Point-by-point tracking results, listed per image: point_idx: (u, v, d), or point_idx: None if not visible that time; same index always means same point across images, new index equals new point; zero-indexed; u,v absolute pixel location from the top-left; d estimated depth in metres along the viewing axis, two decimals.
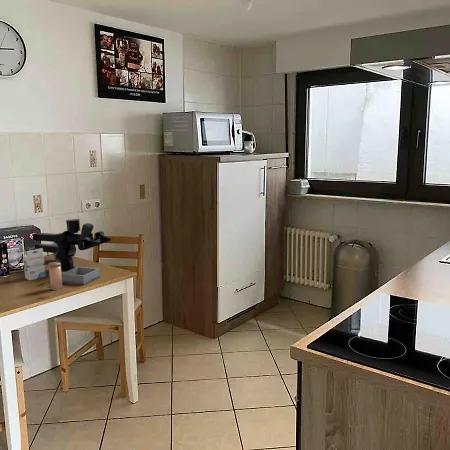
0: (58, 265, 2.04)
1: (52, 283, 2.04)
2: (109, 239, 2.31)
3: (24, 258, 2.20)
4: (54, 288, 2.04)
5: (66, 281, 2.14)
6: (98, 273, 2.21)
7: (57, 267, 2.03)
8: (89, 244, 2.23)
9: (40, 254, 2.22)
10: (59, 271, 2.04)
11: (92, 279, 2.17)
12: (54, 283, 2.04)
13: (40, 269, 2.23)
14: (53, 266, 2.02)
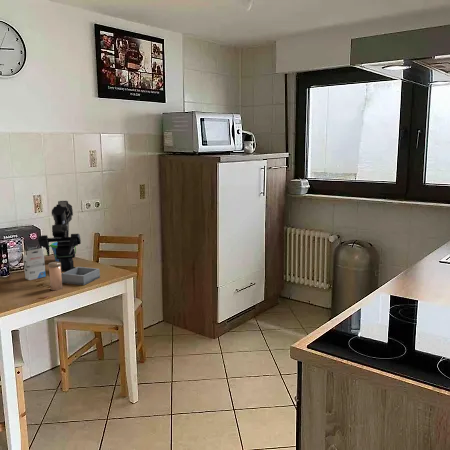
0: (58, 265, 2.04)
1: (52, 283, 2.04)
2: (68, 252, 2.14)
3: (24, 258, 2.20)
4: (54, 288, 2.04)
5: (66, 281, 2.14)
6: (98, 273, 2.21)
7: (57, 267, 2.03)
8: None
9: (40, 254, 2.22)
10: (59, 271, 2.04)
11: (92, 279, 2.17)
12: (54, 283, 2.04)
13: (40, 269, 2.23)
14: (53, 266, 2.02)
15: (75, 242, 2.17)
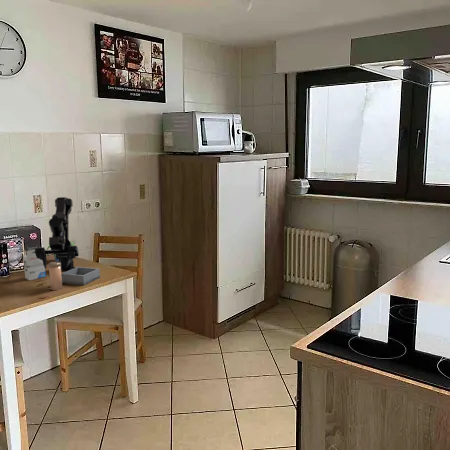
0: (58, 265, 2.04)
1: (52, 283, 2.04)
2: (66, 265, 2.08)
3: (24, 258, 2.20)
4: (54, 288, 2.04)
5: (66, 281, 2.14)
6: (98, 273, 2.21)
7: (57, 267, 2.03)
8: None
9: None
10: (59, 271, 2.04)
11: (92, 279, 2.17)
12: (54, 283, 2.04)
13: (40, 269, 2.23)
14: (53, 266, 2.02)
15: (73, 254, 2.12)
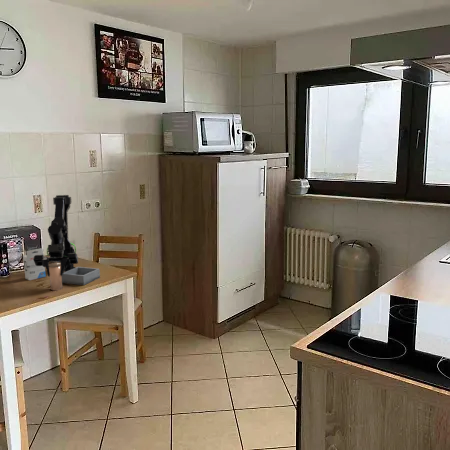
0: (58, 265, 2.04)
1: (52, 283, 2.04)
2: None
3: (24, 258, 2.20)
4: (54, 288, 2.04)
5: (66, 281, 2.14)
6: (98, 273, 2.21)
7: (57, 267, 2.03)
8: None
9: (40, 254, 2.22)
10: (59, 271, 2.04)
11: (92, 279, 2.17)
12: (54, 283, 2.04)
13: (40, 269, 2.23)
14: (53, 266, 2.02)
15: (68, 262, 2.09)
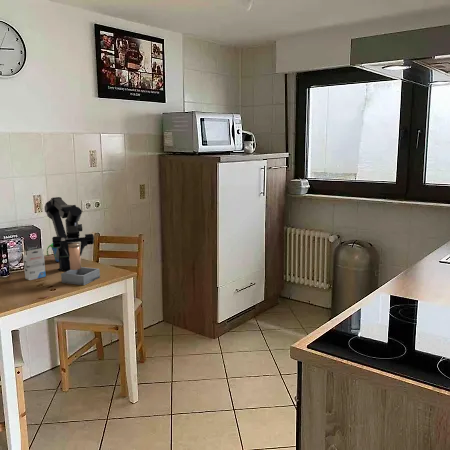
0: (78, 245, 2.12)
1: (72, 263, 2.12)
2: (80, 253, 2.14)
3: (24, 258, 2.20)
4: (74, 268, 2.13)
5: (66, 281, 2.14)
6: (98, 273, 2.21)
7: (77, 248, 2.12)
8: (65, 247, 2.14)
9: (40, 254, 2.22)
10: (79, 251, 2.13)
11: (92, 279, 2.17)
12: (75, 263, 2.12)
13: (40, 269, 2.23)
14: (74, 246, 2.11)
15: (85, 243, 2.18)
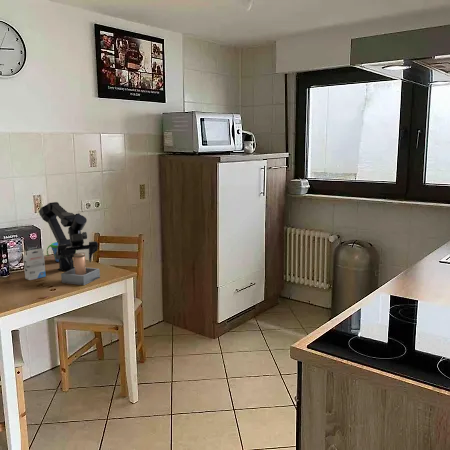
0: (83, 255, 2.16)
1: (78, 272, 2.16)
2: (89, 260, 2.18)
3: (24, 258, 2.20)
4: None
5: (66, 281, 2.14)
6: (98, 273, 2.21)
7: (83, 257, 2.16)
8: None
9: (40, 254, 2.22)
10: (84, 261, 2.17)
11: (92, 279, 2.17)
12: (80, 272, 2.16)
13: (40, 269, 2.23)
14: (79, 256, 2.15)
15: (93, 250, 2.23)
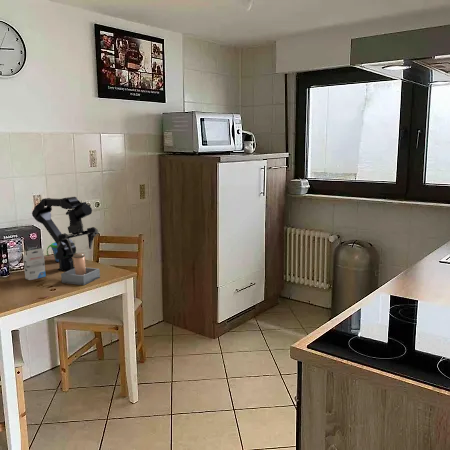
0: (83, 255, 2.16)
1: (78, 273, 2.16)
2: None
3: (24, 258, 2.20)
4: None
5: (66, 281, 2.14)
6: (98, 273, 2.21)
7: (83, 258, 2.16)
8: None
9: (40, 254, 2.22)
10: (84, 261, 2.17)
11: (92, 279, 2.17)
12: (80, 272, 2.16)
13: (40, 269, 2.23)
14: (79, 256, 2.15)
15: (93, 235, 2.26)
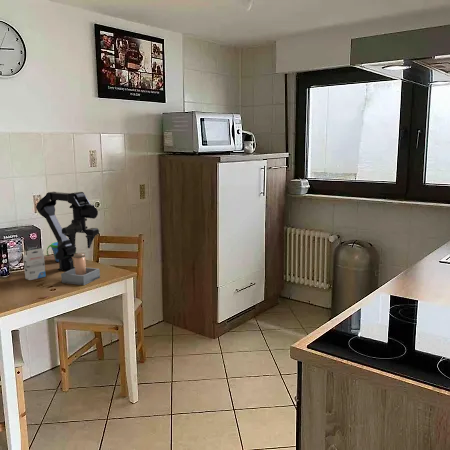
0: (84, 255, 2.16)
1: (78, 273, 2.16)
2: None
3: (24, 258, 2.20)
4: None
5: (66, 281, 2.14)
6: (98, 273, 2.21)
7: (83, 258, 2.16)
8: None
9: (40, 254, 2.22)
10: (84, 261, 2.17)
11: (92, 279, 2.17)
12: (81, 272, 2.16)
13: (40, 269, 2.23)
14: (80, 256, 2.15)
15: None
